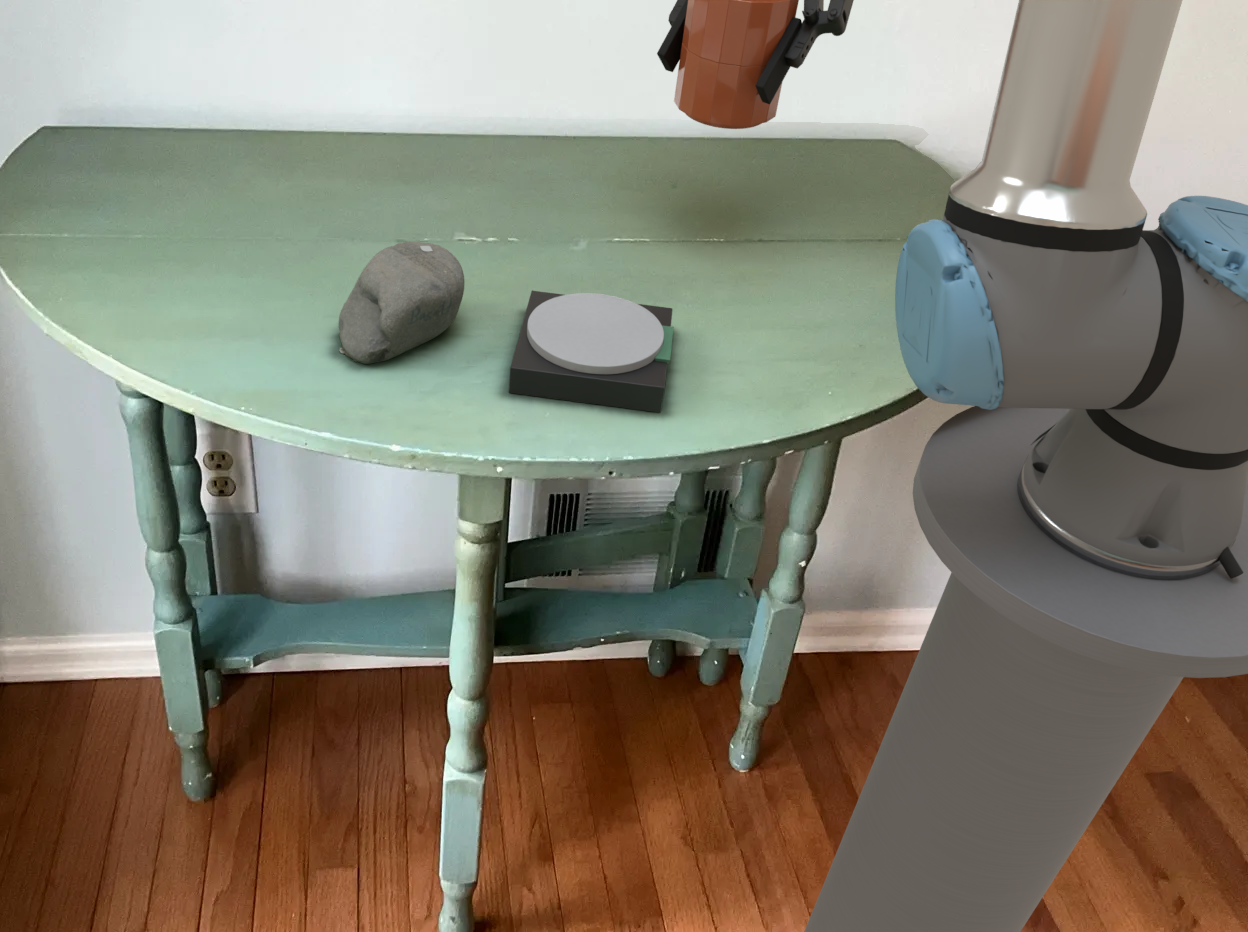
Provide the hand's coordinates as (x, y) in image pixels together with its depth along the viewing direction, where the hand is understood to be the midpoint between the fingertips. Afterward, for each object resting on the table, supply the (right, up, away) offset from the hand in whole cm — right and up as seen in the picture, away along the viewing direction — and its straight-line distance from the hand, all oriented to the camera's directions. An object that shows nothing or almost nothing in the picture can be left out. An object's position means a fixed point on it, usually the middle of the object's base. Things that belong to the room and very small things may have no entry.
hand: (712, 78), depth 103 cm
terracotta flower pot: (+2, -1, +4) cm, 5 cm away
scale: (-11, -25, -6) cm, 28 cm away
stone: (-27, -23, -4) cm, 36 cm away
